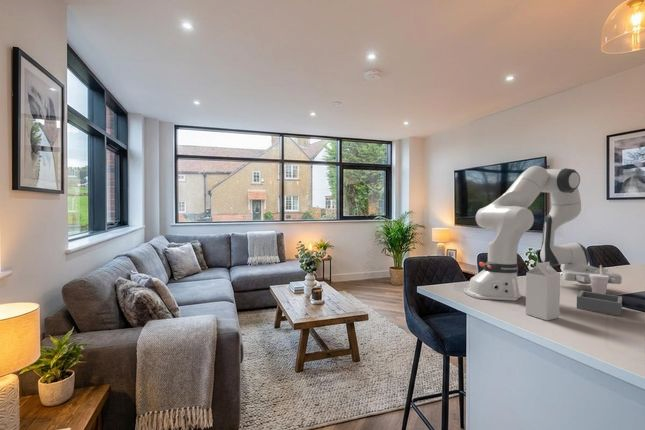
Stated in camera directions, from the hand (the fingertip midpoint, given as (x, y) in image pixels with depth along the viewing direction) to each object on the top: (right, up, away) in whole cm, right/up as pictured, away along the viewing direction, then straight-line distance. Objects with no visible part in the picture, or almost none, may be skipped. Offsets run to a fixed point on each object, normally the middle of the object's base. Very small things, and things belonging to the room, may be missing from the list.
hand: (599, 280), depth 129 cm
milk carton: (-39, -8, -21) cm, 45 cm away
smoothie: (0, -8, +1) cm, 8 cm away
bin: (-12, -8, -13) cm, 19 cm away
